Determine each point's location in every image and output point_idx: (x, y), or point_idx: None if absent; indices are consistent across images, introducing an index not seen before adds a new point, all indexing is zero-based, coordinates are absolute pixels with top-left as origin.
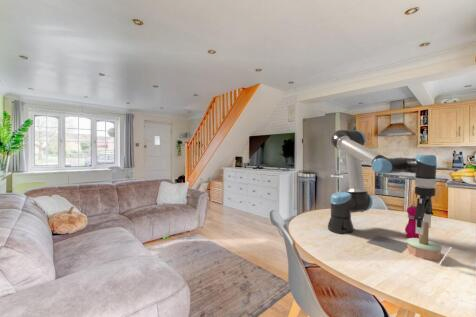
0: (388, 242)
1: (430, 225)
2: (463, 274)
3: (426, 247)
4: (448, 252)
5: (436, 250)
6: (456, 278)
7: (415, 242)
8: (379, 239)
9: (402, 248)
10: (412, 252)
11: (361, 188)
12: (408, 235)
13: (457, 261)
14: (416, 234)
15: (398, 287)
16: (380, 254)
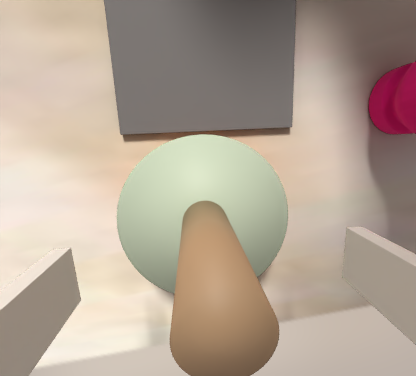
0: (215, 29)
1: (365, 293)
2: (136, 331)
3: (147, 251)
4: (321, 255)
5: (164, 285)
6: (79, 327)
7: (179, 188)
8: None
9: (188, 117)
10: None
11: None
12: (397, 81)
13: None
14: (405, 123)
15: None
16: (17, 63)
